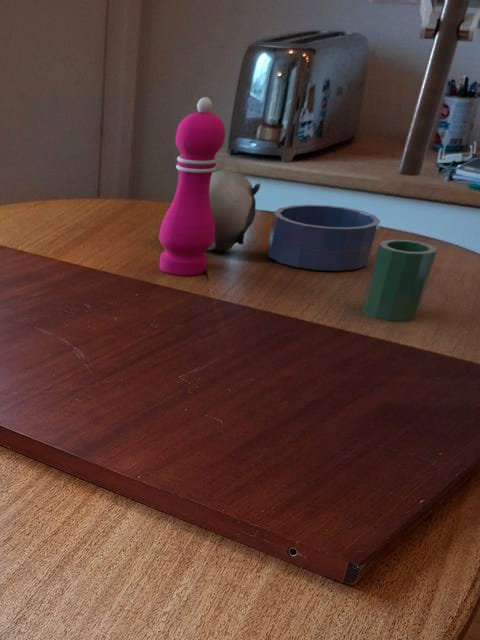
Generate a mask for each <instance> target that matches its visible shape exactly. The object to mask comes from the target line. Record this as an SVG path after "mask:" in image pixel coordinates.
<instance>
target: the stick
mask: <svg viewBox="0 0 480 640" xmlns="http://www.w3.org/2000/svg"><path fill="white" fill-rule="evenodd" d="M469 2H470V0H444V3H443V7H441V11H440V12H441V14H440V18H439V21H438V25H437V29H436V33H435V36H434V39H432V44H431V48H430V51H429V55H428V59H427V61H426V65H425V70H424V73H423V77H422V81H421V84H420V89H419V91H418V95H417V99H416V103H415V107H414V110H413V114H412V118H411V121H410V124H409V128H408V131H407V136H406V140H405V144H404V147H403V151H402V155H401V158H400V162H399V166H398V170H397V173H398V174H399V175H403V176H411V177H413V176H415V177H417V176H420V175H421V173H422V169H423V166H424V163H425V159H426V156H427V152H428V149H429V146H430V142H431V138H432V135H433V131H434V128H435V124H436V121H437V117H438V115H439V111H440V106H441V103H442V100H443V97H444V92H445V90H446V86H447V82H448V78H449V75H450V72H451V68H452V65H453V61H454V58H455V54H456V51H457V48H458V44H459V41H458V37H459V30H460V27H461V24H462V23H463V19H464V17H465V15H466V14H468V13H467V12H468V9H469V8H468V6H469Z"/></svg>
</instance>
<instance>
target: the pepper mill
mask: <svg viewBox="0 0 480 640" xmlns="http://www.w3.org/2000/svg"><path fill="white" fill-rule="evenodd" d="M212 107H213V102H212V100H211V98H210V97H206V96H205V97H204V96H203V97H201V98H199V100H198V102H197V104H196V109H197V112H192V113H190V114H188V115H186V116H185V117H183V119H182V120H181V121H180V122H179V124H178V127H177V130H176V133H175V145H176V147H177V149H178V151H179V153H180V155H179V156H177V158H176V160H177V164H176V165H175V168H176V169H177V170H178V181H177V186H176V190H175V194H174V197H173V200H172V202H171V204H170V206H169V207H168V209H167V212H166V214H165V215H164V216H163V217H164V218H163V220H162V222H161V226H160V229H159V235H158V239H159V242H160V244H161V246H162V247H163V249H164V251H163V252H162V253H161V254H160V256H159V257H160V258H159V265H158V267H159V270H160V271H162V272H163V273H165V274H168V275H174V276H180V277H181V276H182V277H194V276H199V275H202V274H204V273H205V272H206V270H207V264H208V256H207V255H206V254H205V253H206V251H208V250H207V249H208V248H209V247H210V246H211V245H212V243H213V241H214V236H215V225H214V218H213V215H212V211H211V206H210V199H209V188H210V180H211V175H212V173H213V172H215V171H217V167H216V165H217V162H218V158H217V157H216V155H217V153H218V152H219V151H220V150H221V149H222V147H223V145H224V144H225V139H226V127H225V125H224V122H223V120H222V119H221V118H220V117H219V116H218V115H216V114H214V113H212V112H210V111H211V110H212Z"/></svg>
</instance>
